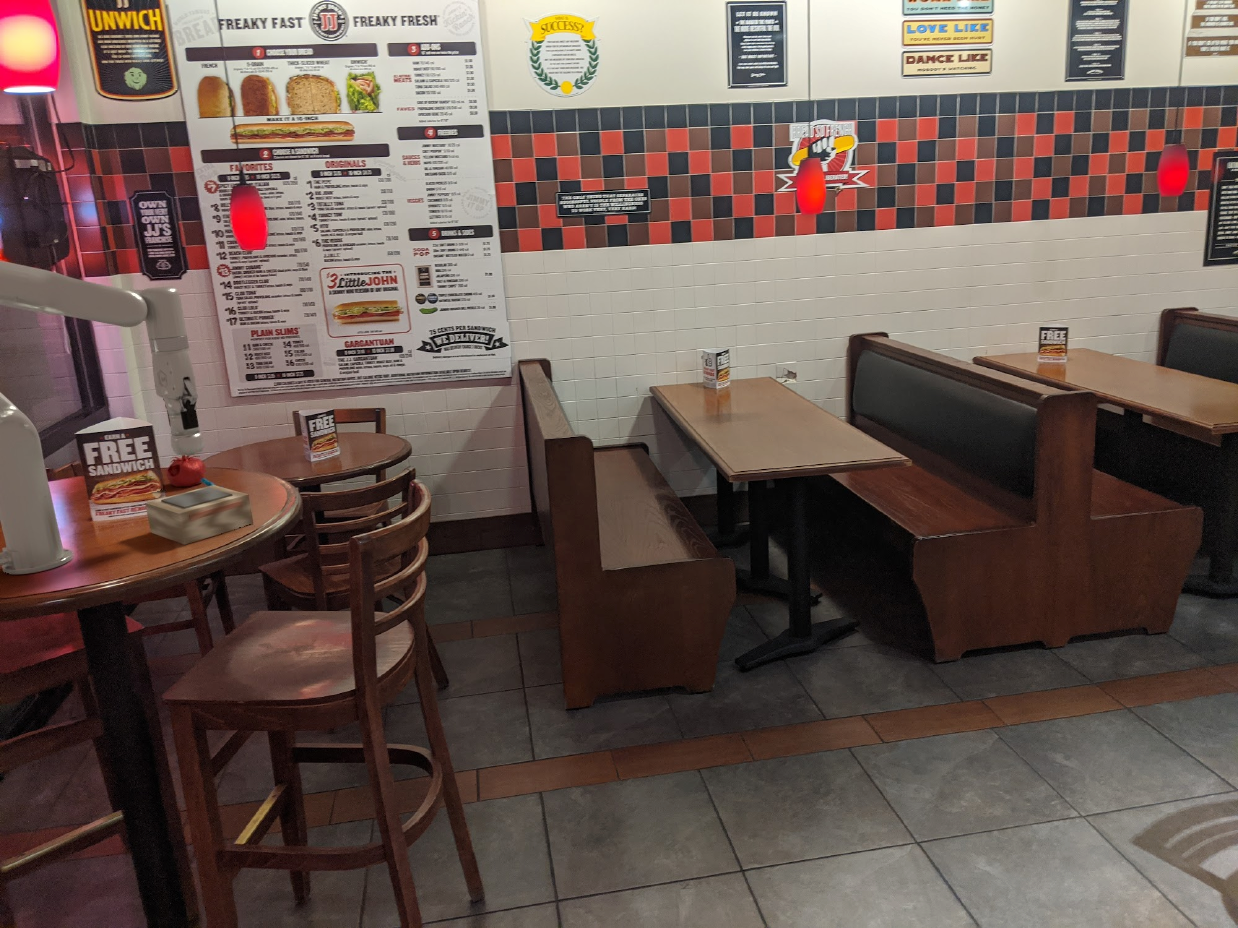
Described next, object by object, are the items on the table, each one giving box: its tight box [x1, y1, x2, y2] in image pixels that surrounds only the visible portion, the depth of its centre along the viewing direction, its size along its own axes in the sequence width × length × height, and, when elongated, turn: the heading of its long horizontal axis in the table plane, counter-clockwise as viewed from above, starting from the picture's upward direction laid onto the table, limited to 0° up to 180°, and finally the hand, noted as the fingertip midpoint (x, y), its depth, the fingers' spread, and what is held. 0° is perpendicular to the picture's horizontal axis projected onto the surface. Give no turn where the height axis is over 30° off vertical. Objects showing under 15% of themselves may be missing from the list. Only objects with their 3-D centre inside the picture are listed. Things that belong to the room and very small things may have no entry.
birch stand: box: [144, 484, 254, 545], centre depth 208 cm, size 16×16×7 cm
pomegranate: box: [165, 455, 207, 488], centre depth 248 cm, size 10×10×9 cm
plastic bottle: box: [161, 387, 205, 457], centre depth 202 cm, size 6×7×20 cm
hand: (184, 426), depth 203 cm, fingers closed on plastic bottle, 5 cm apart
